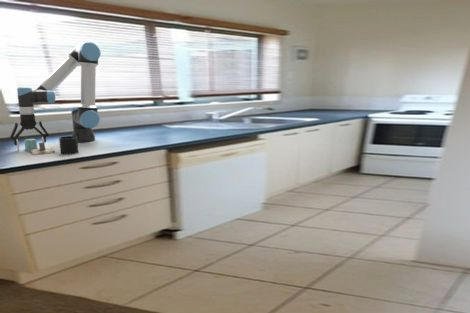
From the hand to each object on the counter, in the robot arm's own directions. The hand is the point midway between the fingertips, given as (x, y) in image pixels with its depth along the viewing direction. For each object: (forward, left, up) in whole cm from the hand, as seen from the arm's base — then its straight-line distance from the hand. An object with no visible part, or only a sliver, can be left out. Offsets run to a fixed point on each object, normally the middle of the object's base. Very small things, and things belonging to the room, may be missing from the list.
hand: (31, 149), depth 216 cm
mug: (-16, +21, 0) cm, 26 cm away
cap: (0, 0, 0) cm, 0 cm away
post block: (-4, +12, 0) cm, 13 cm away
